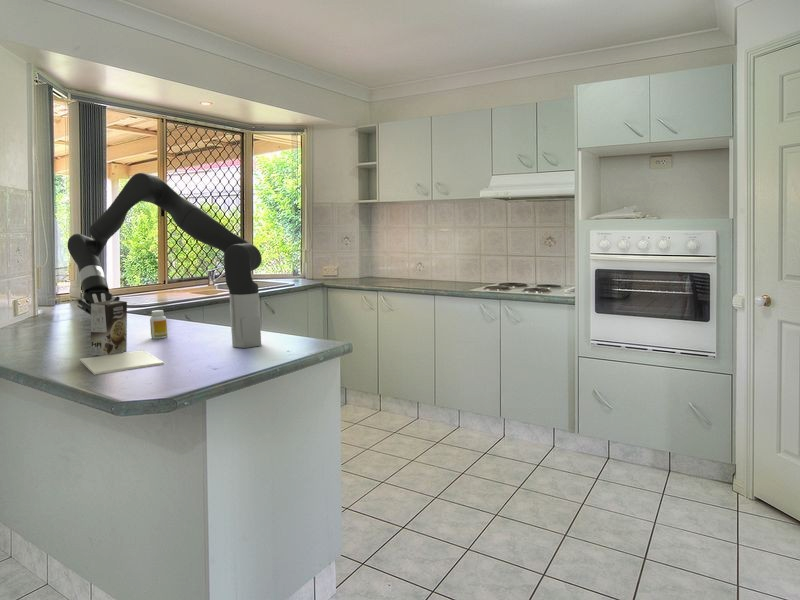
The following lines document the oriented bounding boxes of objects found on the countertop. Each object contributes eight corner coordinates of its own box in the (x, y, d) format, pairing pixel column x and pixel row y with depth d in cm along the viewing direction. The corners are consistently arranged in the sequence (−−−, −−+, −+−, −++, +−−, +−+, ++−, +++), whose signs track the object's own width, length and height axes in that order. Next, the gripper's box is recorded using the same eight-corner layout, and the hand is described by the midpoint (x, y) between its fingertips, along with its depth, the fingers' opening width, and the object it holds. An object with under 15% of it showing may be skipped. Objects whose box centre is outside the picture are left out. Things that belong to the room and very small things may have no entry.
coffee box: (108, 357, 180) (108, 305, 178) (89, 354, 182) (89, 303, 179) (127, 350, 189) (128, 301, 187) (110, 348, 190) (110, 299, 188)
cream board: (163, 364, 169) (163, 362, 169) (94, 374, 158) (94, 372, 158) (144, 352, 186) (143, 350, 186) (80, 360, 176) (80, 358, 176)
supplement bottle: (170, 336, 213) (168, 310, 212) (159, 339, 208) (157, 312, 207) (159, 335, 215) (157, 309, 214) (148, 338, 210) (145, 311, 209)
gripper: (71, 276, 190) (81, 317, 181) (116, 273, 197) (127, 313, 189) (70, 291, 194) (80, 332, 186) (114, 287, 202) (125, 327, 194)
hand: (104, 322), depth 188 cm, fingers closed
